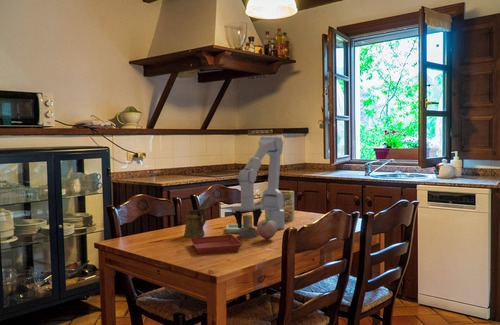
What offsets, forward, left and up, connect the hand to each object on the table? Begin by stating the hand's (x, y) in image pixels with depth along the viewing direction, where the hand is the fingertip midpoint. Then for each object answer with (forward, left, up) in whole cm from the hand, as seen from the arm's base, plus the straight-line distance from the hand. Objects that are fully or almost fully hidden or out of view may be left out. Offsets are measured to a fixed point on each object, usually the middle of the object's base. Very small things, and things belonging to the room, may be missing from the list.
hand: (247, 227), depth 202 cm
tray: (+4, -11, -4) cm, 13 cm away
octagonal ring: (0, 0, -4) cm, 4 cm away
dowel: (0, 0, -4) cm, 4 cm away
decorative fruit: (-8, +9, -4) cm, 13 cm away
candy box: (-20, -38, -4) cm, 43 cm away
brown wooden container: (+22, -1, -4) cm, 22 cm away
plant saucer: (+13, +21, -4) cm, 26 cm away
